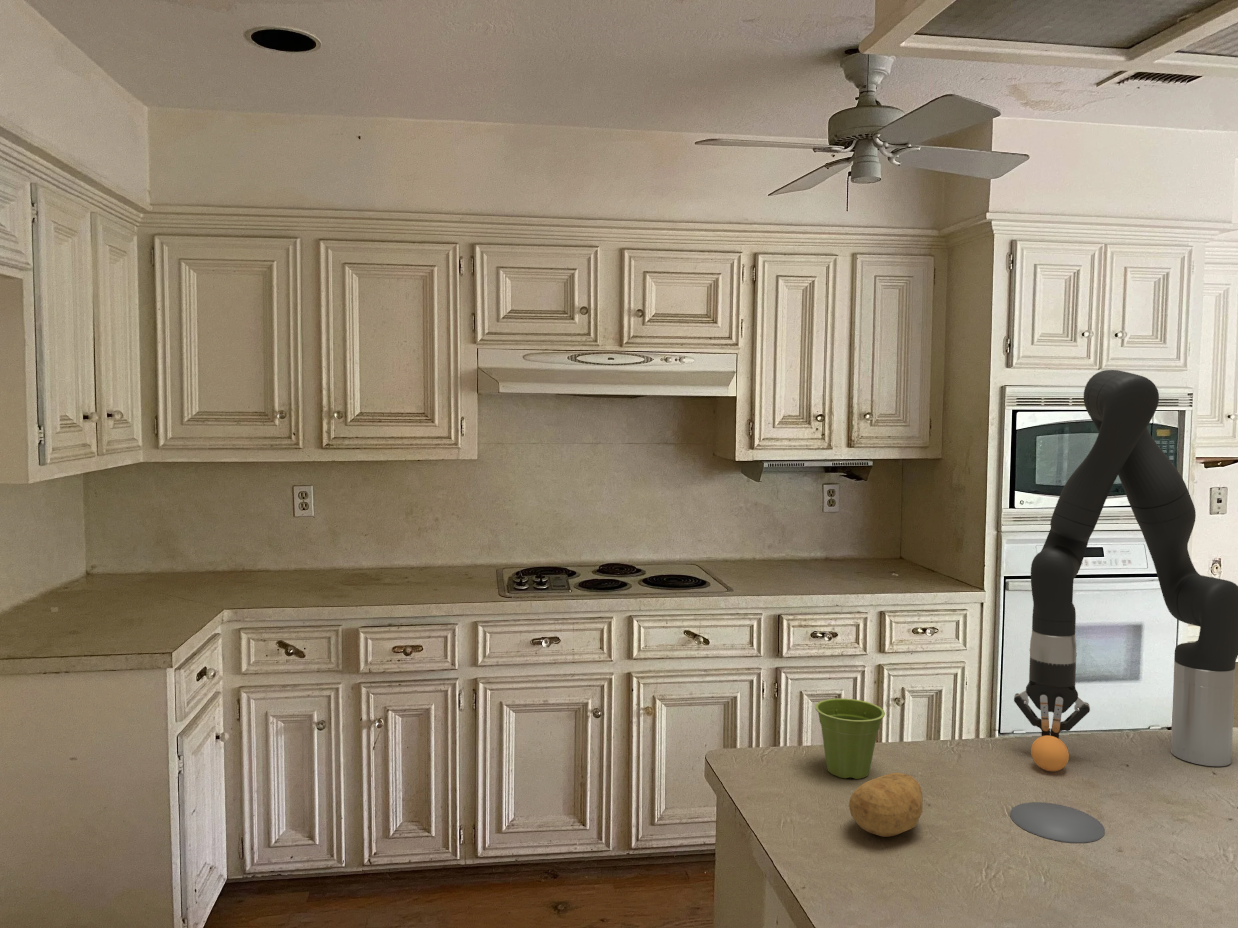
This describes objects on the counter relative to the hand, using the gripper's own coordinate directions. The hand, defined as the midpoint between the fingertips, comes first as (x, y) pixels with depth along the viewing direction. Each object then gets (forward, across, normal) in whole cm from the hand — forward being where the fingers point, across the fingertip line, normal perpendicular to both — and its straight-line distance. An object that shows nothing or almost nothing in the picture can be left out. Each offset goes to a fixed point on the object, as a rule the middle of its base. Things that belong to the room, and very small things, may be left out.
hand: (1049, 749), depth 159 cm
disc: (+2, +1, -27) cm, 27 cm away
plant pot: (+2, -32, -22) cm, 39 cm away
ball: (-2, 0, -6) cm, 6 cm away
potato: (+2, -22, -41) cm, 47 cm away
